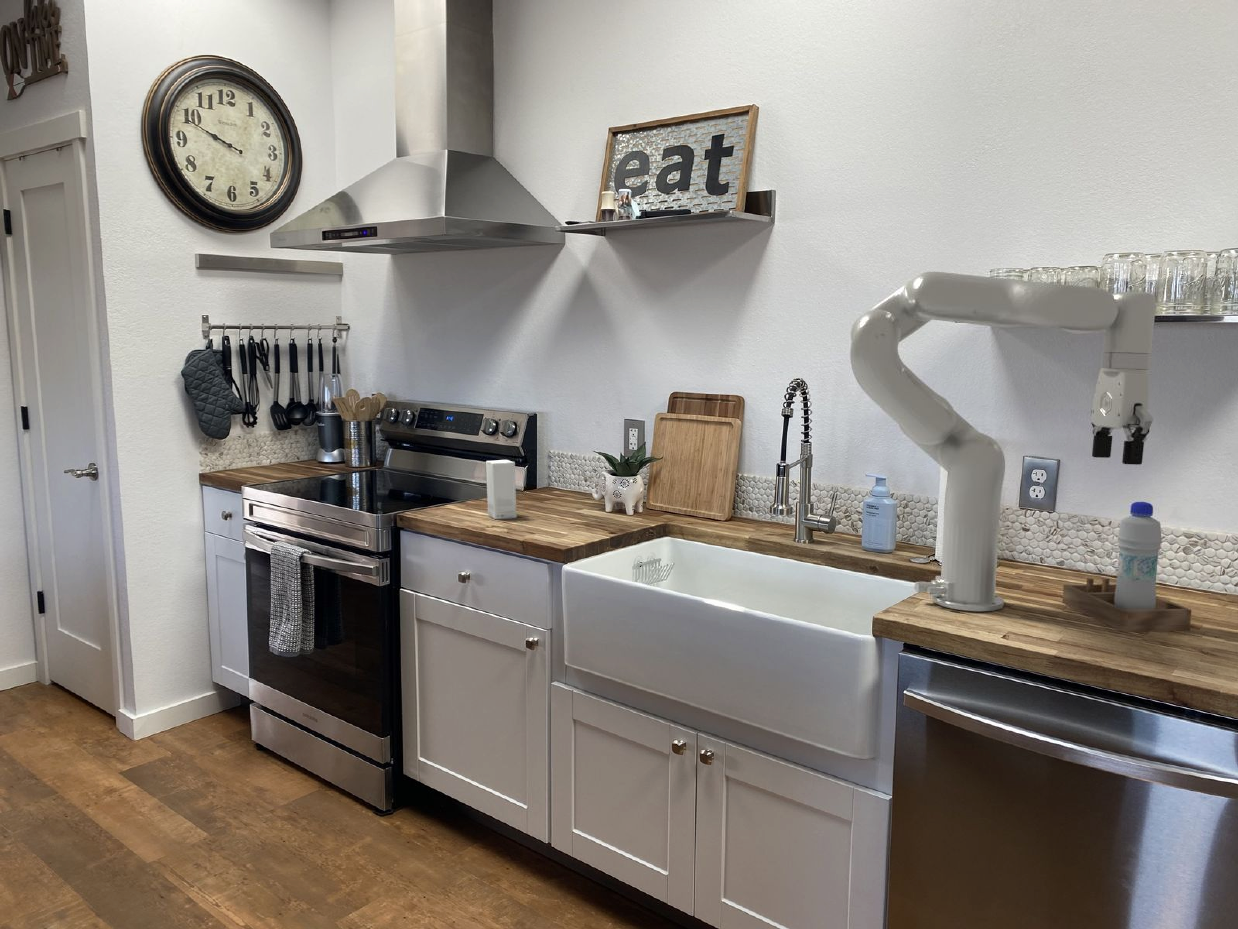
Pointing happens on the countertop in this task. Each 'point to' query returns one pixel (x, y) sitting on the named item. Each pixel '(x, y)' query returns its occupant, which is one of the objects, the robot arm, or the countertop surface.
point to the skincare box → (501, 489)
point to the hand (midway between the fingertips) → (1116, 460)
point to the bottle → (1138, 559)
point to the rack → (1101, 607)
